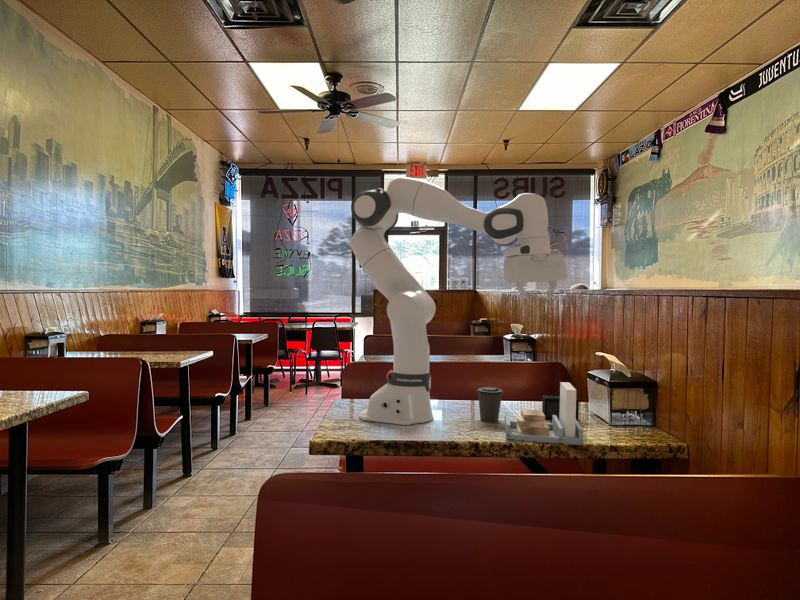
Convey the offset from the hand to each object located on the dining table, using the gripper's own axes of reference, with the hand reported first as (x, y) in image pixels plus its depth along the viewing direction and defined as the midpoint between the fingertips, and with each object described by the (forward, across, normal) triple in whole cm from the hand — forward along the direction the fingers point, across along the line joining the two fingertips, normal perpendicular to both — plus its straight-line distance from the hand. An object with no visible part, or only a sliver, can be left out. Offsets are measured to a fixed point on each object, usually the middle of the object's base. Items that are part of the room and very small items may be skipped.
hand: (537, 297), depth 146 cm
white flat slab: (+39, -2, +6) cm, 39 cm away
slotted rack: (+38, +4, +2) cm, 38 cm away
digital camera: (+39, -14, -10) cm, 42 cm away
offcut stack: (+38, +6, +1) cm, 38 cm away
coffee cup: (+37, +8, -16) cm, 41 cm away
